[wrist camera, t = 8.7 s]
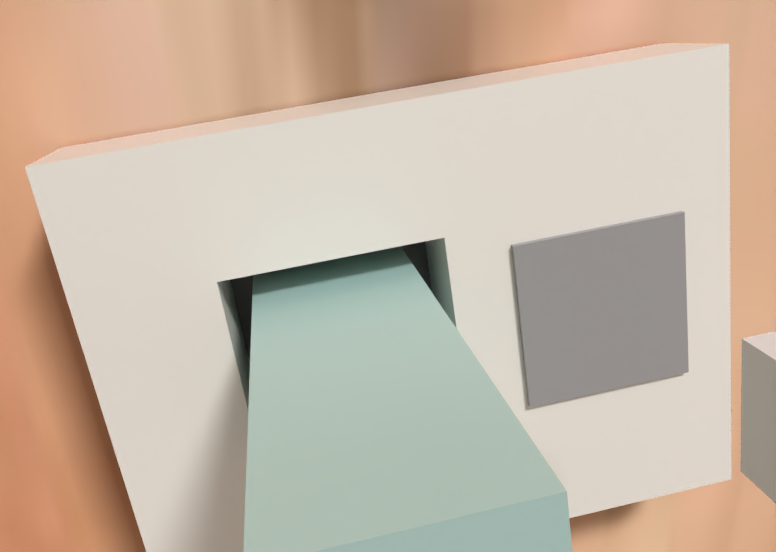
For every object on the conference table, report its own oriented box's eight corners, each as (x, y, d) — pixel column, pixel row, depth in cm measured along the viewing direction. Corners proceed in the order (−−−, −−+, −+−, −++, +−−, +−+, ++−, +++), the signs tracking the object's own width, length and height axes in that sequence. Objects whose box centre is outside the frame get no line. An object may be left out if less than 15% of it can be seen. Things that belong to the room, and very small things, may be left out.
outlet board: (60, 147, 18) (22, 167, 16) (663, 43, 20) (733, 43, 17) (178, 543, 22) (165, 619, 19) (675, 427, 24) (734, 482, 21)
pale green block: (253, 270, 20) (241, 585, 8) (398, 242, 20) (576, 506, 9) (282, 401, 21) (308, 830, 10) (418, 372, 22) (597, 751, 10)
